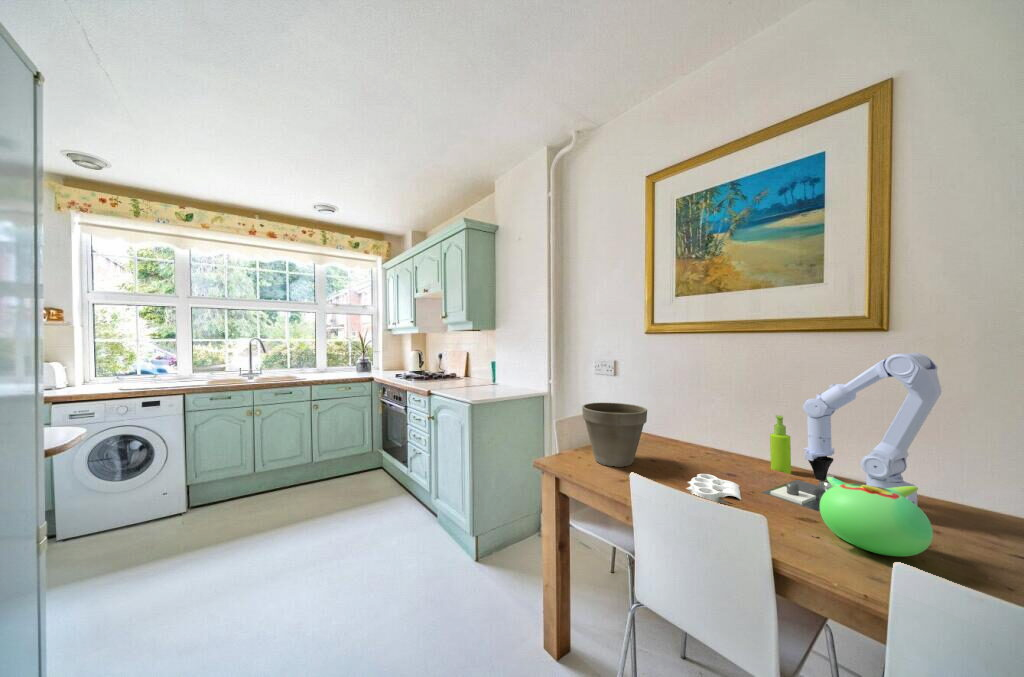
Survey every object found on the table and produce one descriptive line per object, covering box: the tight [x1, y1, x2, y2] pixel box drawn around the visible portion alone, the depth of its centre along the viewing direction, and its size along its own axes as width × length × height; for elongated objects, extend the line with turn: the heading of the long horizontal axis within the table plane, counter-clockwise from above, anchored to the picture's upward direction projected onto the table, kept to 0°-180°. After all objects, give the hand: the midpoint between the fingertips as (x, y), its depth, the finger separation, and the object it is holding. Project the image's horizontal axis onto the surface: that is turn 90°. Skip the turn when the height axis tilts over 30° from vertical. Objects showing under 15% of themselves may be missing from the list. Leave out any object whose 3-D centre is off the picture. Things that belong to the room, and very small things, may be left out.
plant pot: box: [581, 402, 648, 468], centre depth 144 cm, size 25×25×22 cm
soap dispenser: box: [769, 414, 792, 475], centre depth 131 cm, size 6×7×20 cm
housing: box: [761, 479, 825, 512], centre depth 108 cm, size 14×21×2 cm, turn 118°
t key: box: [818, 473, 835, 492], centre depth 111 cm, size 11×4×3 cm, turn 136°
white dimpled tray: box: [685, 473, 742, 506], centre depth 112 cm, size 3×18×15 cm
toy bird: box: [819, 477, 934, 558], centre depth 82 cm, size 18×17×15 cm
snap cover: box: [770, 482, 816, 504], centre depth 106 cm, size 8×8×4 cm
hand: (820, 479), depth 114 cm, fingers closed
